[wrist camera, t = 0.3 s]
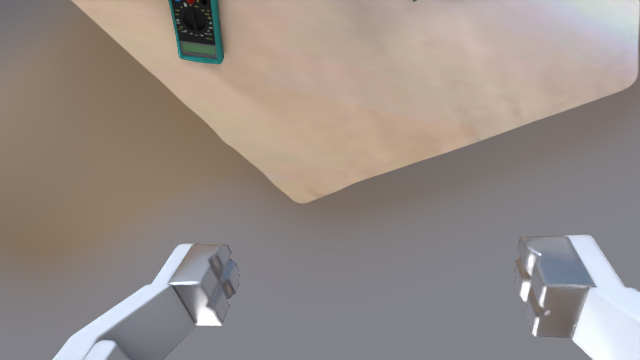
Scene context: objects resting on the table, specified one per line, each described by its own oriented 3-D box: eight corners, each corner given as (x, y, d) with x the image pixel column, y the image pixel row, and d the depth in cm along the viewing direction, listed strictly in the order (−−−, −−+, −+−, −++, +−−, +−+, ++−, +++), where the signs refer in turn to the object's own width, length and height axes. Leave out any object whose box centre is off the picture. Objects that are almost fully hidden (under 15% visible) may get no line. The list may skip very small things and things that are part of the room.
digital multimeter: (216, -32, 53) (211, -23, 51) (225, 57, 65) (221, 67, 63) (165, -40, 53) (158, -31, 51) (183, 51, 64) (178, 61, 62)
